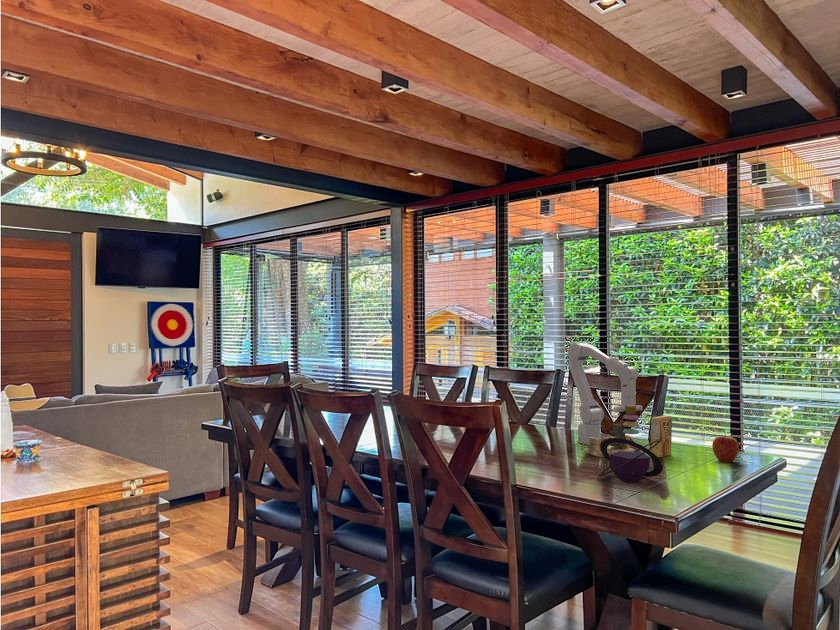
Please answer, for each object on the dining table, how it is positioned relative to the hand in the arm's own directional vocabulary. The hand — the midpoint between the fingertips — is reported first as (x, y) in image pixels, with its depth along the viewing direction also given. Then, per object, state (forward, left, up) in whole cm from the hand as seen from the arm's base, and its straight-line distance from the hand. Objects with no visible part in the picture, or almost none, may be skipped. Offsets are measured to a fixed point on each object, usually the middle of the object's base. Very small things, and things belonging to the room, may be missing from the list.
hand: (628, 428), depth 256 cm
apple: (+31, +18, -9) cm, 37 cm away
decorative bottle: (+36, -38, -9) cm, 53 cm away
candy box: (+13, +4, -9) cm, 16 cm away
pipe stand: (0, -11, -9) cm, 14 cm away
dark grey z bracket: (0, -6, -7) cm, 9 cm away
